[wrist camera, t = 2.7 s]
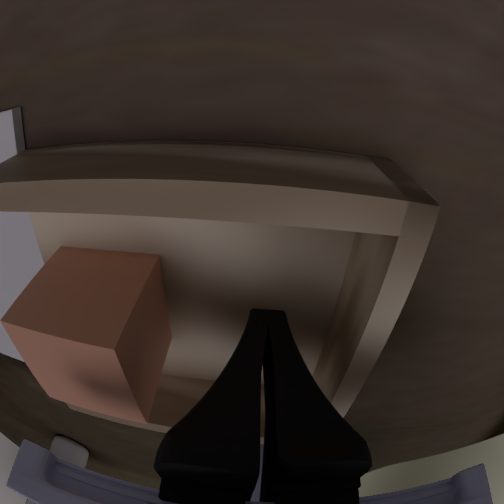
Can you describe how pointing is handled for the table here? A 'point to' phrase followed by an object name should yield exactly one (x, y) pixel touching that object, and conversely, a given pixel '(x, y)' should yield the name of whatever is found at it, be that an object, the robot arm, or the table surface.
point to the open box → (240, 247)
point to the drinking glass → (67, 453)
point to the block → (95, 329)
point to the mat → (14, 234)
